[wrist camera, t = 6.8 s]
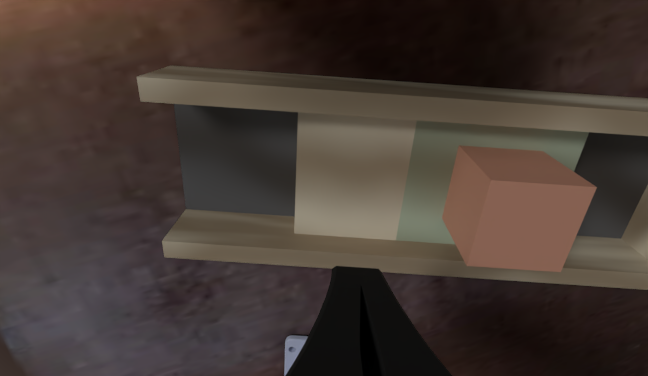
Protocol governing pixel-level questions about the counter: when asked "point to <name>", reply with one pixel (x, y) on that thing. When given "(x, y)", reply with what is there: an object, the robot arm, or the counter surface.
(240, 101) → the trap lane
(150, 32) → the counter surface
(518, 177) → the block
